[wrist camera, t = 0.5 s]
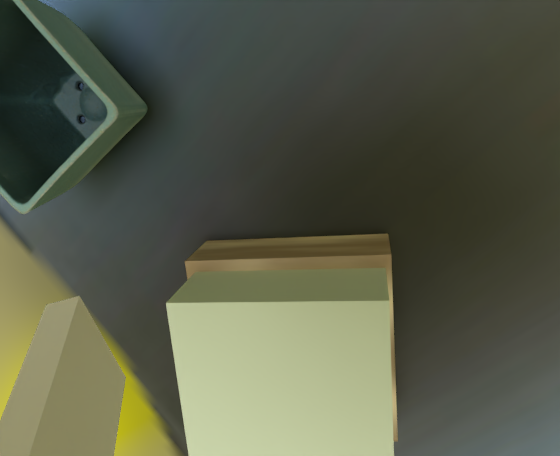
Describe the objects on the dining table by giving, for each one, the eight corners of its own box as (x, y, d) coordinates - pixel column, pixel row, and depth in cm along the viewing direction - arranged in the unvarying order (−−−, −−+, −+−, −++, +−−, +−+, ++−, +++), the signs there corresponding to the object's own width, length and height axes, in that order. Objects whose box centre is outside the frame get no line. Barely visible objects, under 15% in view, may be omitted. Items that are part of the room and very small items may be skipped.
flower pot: (94, 6, 33) (-1, -24, 24) (183, 107, 34) (120, 113, 25) (18, 96, 36) (-92, 98, 27) (102, 189, 36) (21, 218, 28)
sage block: (195, 271, 32) (165, 302, 27) (385, 267, 30) (389, 300, 25) (216, 432, 35) (193, 485, 30) (390, 439, 33) (394, 497, 28)
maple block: (208, 239, 37) (184, 261, 32) (387, 232, 34) (391, 254, 29) (228, 393, 40) (209, 434, 35) (393, 397, 37) (397, 441, 33)
